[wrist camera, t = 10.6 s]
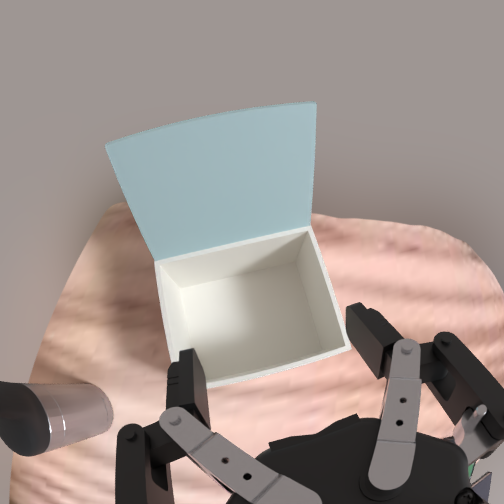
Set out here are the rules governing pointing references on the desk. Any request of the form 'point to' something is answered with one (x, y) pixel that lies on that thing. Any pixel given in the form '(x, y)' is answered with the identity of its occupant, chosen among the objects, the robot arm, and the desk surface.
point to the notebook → (482, 485)
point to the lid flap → (219, 177)
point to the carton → (251, 306)
